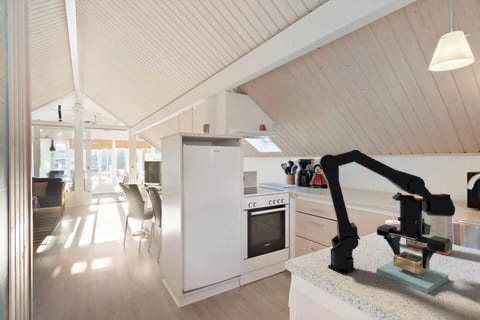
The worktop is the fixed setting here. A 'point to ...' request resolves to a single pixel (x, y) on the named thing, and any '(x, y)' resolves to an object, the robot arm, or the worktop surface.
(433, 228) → the cracker box
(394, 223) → the smoothie
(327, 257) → the worktop surface
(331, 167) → the robot arm
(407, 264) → the square frame
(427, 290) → the post board
